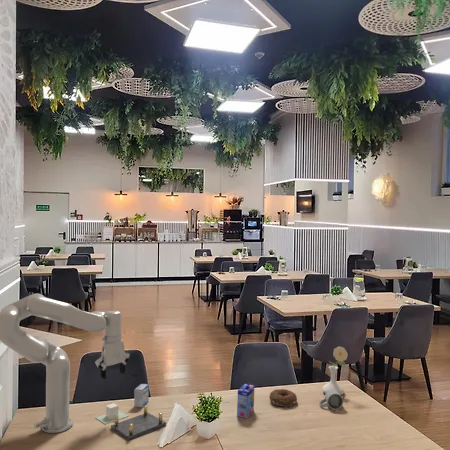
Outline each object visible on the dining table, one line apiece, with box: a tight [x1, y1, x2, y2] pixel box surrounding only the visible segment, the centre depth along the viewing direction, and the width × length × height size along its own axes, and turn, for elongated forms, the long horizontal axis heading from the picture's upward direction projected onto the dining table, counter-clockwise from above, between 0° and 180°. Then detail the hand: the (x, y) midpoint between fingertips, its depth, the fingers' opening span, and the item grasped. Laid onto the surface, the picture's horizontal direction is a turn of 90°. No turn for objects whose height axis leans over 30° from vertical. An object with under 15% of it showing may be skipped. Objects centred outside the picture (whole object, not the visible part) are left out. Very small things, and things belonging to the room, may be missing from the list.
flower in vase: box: [321, 346, 349, 396], centre depth 231 cm, size 13×11×25 cm
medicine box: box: [133, 383, 150, 409], centre depth 215 cm, size 8×4×9 cm, turn 168°
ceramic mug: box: [318, 390, 344, 411], centre depth 214 cm, size 11×8×8 cm
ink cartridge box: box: [236, 381, 256, 419], centre depth 205 cm, size 10×6×14 cm, turn 158°
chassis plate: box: [110, 404, 167, 441], centre depth 190 cm, size 19×14×6 cm
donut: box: [268, 388, 298, 407], centre depth 219 cm, size 14×14×5 cm
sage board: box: [94, 402, 129, 426], centre depth 200 cm, size 12×9×6 cm
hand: (113, 375), depth 201 cm, fingers open, 9 cm apart
